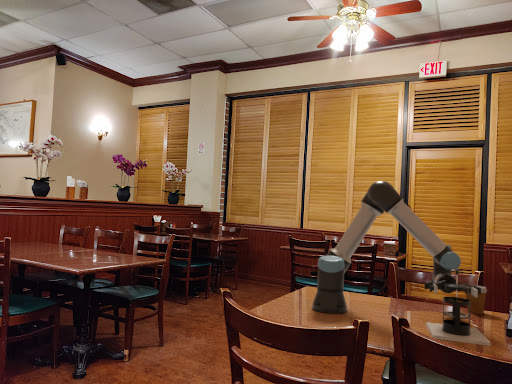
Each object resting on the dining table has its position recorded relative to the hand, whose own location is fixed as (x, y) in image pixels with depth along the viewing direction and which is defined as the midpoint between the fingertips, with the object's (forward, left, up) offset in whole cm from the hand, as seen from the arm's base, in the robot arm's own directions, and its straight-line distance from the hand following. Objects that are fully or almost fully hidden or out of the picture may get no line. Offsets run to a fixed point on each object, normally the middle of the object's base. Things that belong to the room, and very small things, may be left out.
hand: (456, 291), depth 145 cm
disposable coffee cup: (+17, +44, -16) cm, 50 cm away
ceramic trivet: (0, -1, -16) cm, 16 cm away
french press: (0, -1, -14) cm, 15 cm away
